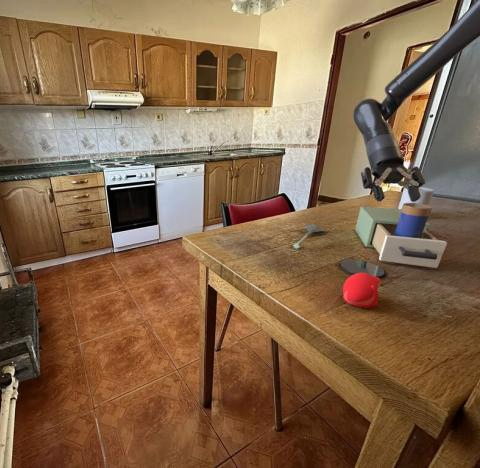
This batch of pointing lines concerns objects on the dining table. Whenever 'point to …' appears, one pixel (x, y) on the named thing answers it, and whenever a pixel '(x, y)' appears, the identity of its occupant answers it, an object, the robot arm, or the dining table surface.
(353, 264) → the coaster
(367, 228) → the cabinet
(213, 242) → the dining table surface
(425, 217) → the spice jar
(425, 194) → the mug
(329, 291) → the dining table surface
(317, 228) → the grey spatula
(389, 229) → the drawer
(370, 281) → the cap
